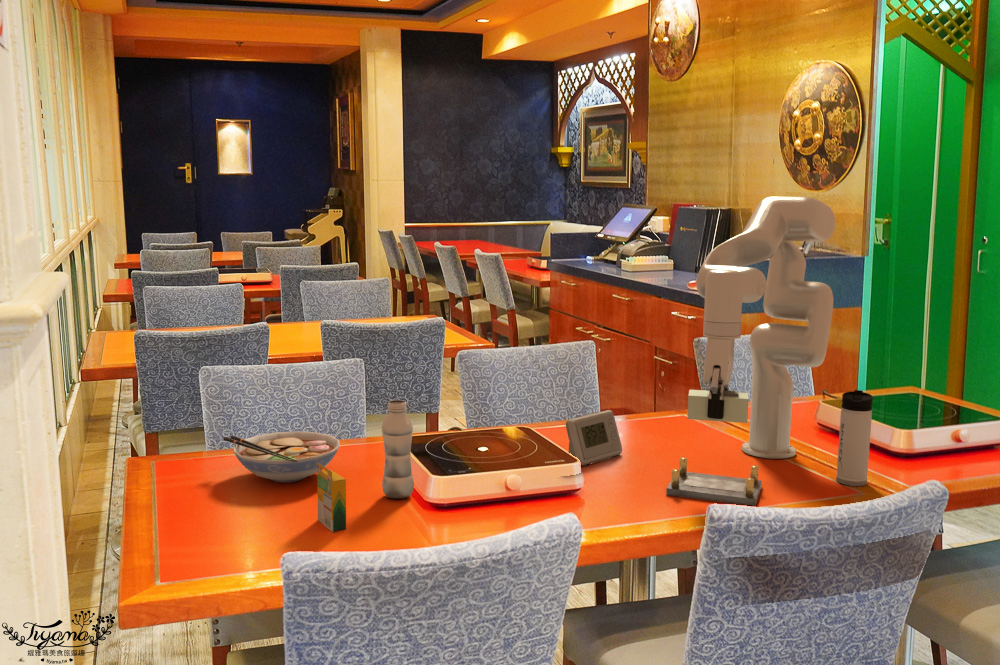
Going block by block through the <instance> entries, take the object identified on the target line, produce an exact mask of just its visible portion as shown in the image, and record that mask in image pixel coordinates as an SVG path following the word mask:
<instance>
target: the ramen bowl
mask: <svg viewBox="0 0 1000 665" xmlns="http://www.w3.org/2000/svg"><path fill="white" fill-rule="evenodd" d="M223 441H225V442H228V443H232V444H234V445H233V449H232V450H233V453H234V455H235V457H236V459H237V460H238V461H239V463H240V464H241V465H242V466H243V467H244V468H245V469H246V470H248V471H249V472H250V473H252V474H253V475H255V476H257V477H261V478H263V479H268V480H271V481H274V482H277V483H295V482H298V481H302V480H304V479H305V478H308V477H310V476H312V475H314V474H317V462H318V463H319V464H321V465H323V466H324V467H327V466H328V465H329V464H330V463H331V461H332V460H333V459H334V457H335V455H336V454H337V453H338V450H339V448H340V446H341V443H340V440H339V439H338V438H336V437H334V436H332V435H330V434H326V433H320V432H311V431H279V432H278V431H277V432H271V433H263V434H258V435H254V436H252V437H248V438H245V439H243V438H241V437H238V436H235V435H230V437H227V436H224V437H223Z"/></svg>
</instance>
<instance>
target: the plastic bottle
mask: <svg viewBox="0 0 1000 665" xmlns="http://www.w3.org/2000/svg"><path fill="white" fill-rule="evenodd" d="M387 405H388V406H387V412H388V414H387V416H386V417H385V418H384V420H383V421H382V424H381V433H382V441H383V448H384V451H383V452H384V467H383V468H384V469H383V476H382V484H381V486H382V492H383V494H384V495H385V497H388V498H390V499H404V498H408V497H410V496H411V495H412V493H413V492H414V485H415V483H414V475H413V474H412V473H413V472H412V462H411V454H412V453H411V452H412V450H411V449H412V440H413V439H412V438H413V432H414V428H413V427H414V426H413V422H412V421H411V419H410V417H409V416H408V415H407V413H406V412H407V411H408V410H407V401H406V400H402V399H392V400H389V401H388V403H387Z"/></svg>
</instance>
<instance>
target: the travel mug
mask: <svg viewBox="0 0 1000 665" xmlns="http://www.w3.org/2000/svg"><path fill="white" fill-rule="evenodd" d="M841 397H842V398H841V406H840V409H841V410H840V422H839V433H838V434H839V436H838V447H837V448H838V449H837V450H838V451H837V462H836V463H837V467H836V482H837V481H838V482H837V483H839V484H840V483H842V484H841V485H843V484H845V485H844V486H847V485H849V486H848V487H856V486H858V487H863V486H865V485H867V483H868V472H869V458H870V456H869V455H870V447H871V445H870V444H871V431H872V430H871V429H872V416H873V413H872V412H873V400H874V399H873V398H874V396H873V395H872V394H870V393H868V392H864V391H863V390H860V389H859V390H858V389H854V390H853V391H845V392H843V393H842V395H841Z"/></svg>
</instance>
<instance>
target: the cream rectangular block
mask: <svg viewBox="0 0 1000 665" xmlns="http://www.w3.org/2000/svg"><path fill="white" fill-rule="evenodd" d="M687 398H688V399H687V400H688V401H687V402H688V403H687V417H686V418H687V420H697V421H711V422H726V423H740V424H741V423H742V424H748V421H749V420H748V416H749V402H750V401H749V393H748V392H739V390H724V394H723V400H724V417H723V419H714V418H708V417H707V412H708V398H709V390H705V389H703V390H700V389H689V391H688V397H687Z"/></svg>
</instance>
